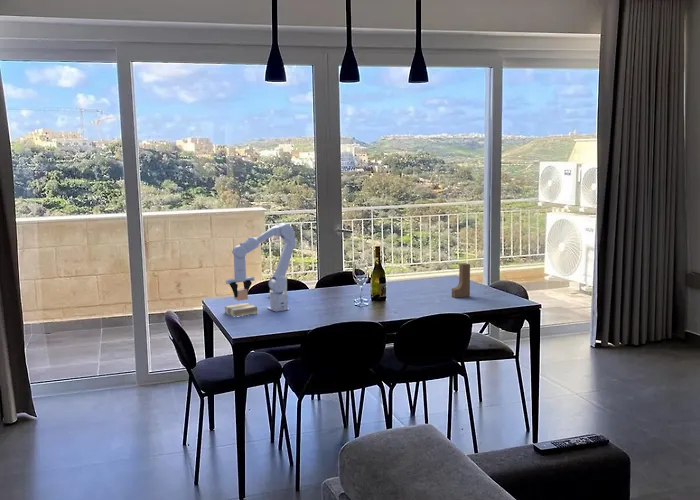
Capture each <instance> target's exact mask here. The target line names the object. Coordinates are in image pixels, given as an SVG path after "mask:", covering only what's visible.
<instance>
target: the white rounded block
mask: <svg viewBox="0 0 700 500" xmlns="http://www.w3.org/2000/svg"><path fill="white" fill-rule="evenodd" d="M271 278H272V276H270V277H269V280H270V279H271ZM270 290H271V288H270V287H269V291H270ZM284 294H285V295H286V296H287V295H288V279H287V276H285V289H284Z"/></svg>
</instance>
